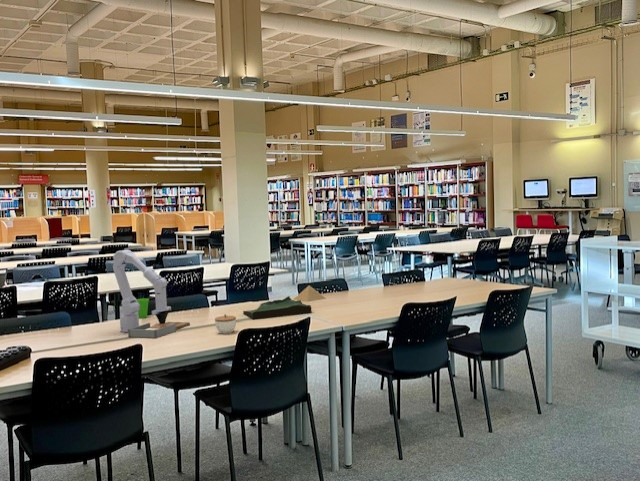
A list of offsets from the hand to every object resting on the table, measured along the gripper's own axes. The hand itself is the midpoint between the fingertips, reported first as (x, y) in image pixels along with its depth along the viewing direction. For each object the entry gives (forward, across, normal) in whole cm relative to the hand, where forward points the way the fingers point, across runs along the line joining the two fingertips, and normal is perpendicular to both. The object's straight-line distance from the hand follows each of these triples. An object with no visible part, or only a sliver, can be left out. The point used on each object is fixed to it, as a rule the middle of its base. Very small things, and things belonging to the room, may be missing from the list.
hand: (162, 325), depth 323 cm
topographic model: (+3, +55, -42) cm, 70 cm away
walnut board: (+3, +8, 0) cm, 8 cm away
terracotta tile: (+2, -4, 0) cm, 4 cm away
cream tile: (+2, -10, 0) cm, 10 cm away
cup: (+3, +32, +37) cm, 49 cm away
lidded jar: (+3, +2, -38) cm, 38 cm away
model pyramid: (+3, +110, -41) cm, 118 cm away
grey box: (+3, -8, 0) cm, 9 cm away
